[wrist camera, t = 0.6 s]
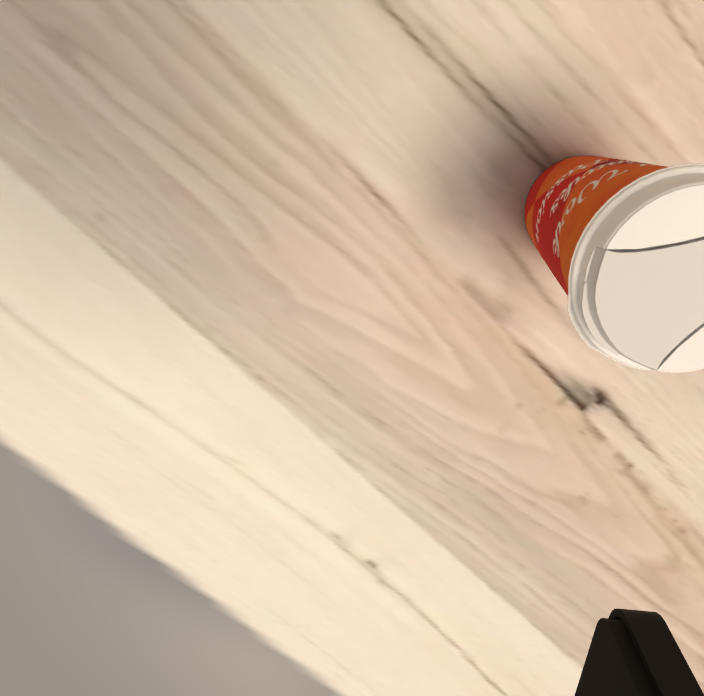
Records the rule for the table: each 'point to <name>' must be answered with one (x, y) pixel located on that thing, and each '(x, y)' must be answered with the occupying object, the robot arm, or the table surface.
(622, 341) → the paper cup
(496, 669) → the table surface
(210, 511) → the table surface
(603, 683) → the robot arm
